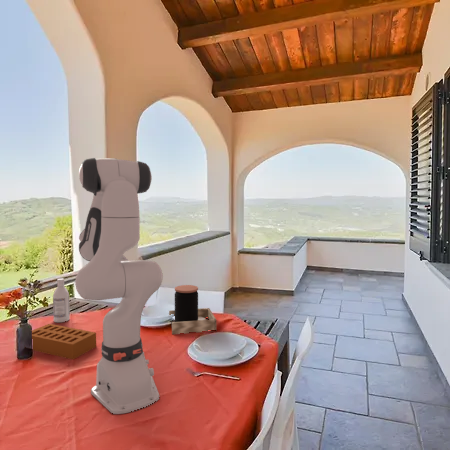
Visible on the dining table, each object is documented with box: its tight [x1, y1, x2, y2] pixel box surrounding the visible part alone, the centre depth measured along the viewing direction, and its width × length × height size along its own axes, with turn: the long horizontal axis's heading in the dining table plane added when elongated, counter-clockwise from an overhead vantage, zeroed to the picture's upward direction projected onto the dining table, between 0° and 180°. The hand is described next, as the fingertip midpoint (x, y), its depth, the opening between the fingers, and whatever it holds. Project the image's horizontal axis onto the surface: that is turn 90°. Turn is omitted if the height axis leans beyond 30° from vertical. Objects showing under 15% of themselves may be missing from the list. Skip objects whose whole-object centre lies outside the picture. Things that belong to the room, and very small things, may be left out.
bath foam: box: [52, 277, 71, 324], centre depth 162 cm, size 7×7×20 cm
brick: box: [31, 323, 97, 360], centre depth 134 cm, size 25×12×6 cm, turn 69°
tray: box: [168, 307, 217, 335], centre depth 158 cm, size 20×17×5 cm
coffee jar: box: [174, 284, 199, 322], centre depth 157 cm, size 11×11×18 cm
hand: (135, 278), depth 151 cm, fingers closed
